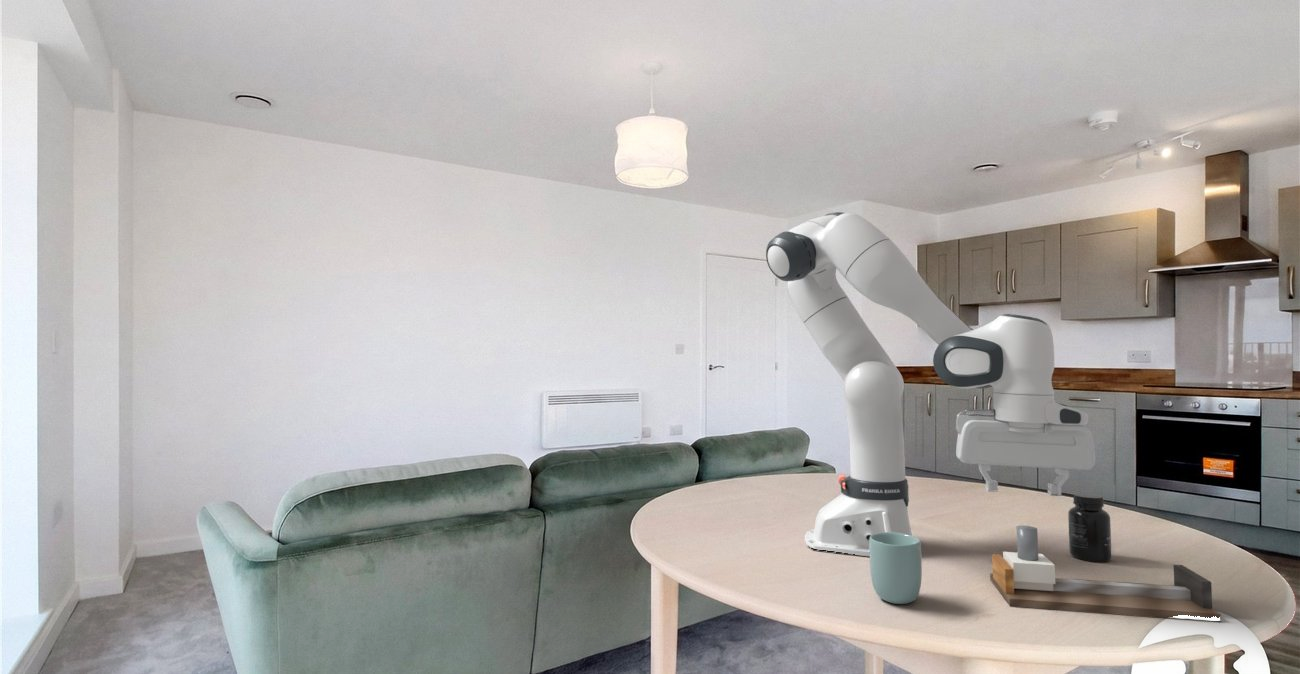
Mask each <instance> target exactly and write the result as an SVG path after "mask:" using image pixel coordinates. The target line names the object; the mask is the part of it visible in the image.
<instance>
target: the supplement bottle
mask: <svg viewBox="0 0 1300 674" xmlns="http://www.w3.org/2000/svg"><path fill="white" fill-rule="evenodd" d="M1072 503H1073V505H1074V506H1073V507H1070V509H1069V510H1068V512H1067V513H1068V514H1067V515H1068V516H1067V520H1068V544H1069V545H1068V548H1069V554H1070V555H1071V557H1073V558H1076V559H1077V560H1083V561H1088V562H1094V563H1095V562H1096V563H1106V562H1109V561H1111V559H1112V558H1113V557H1112V553H1113V552H1112V534H1111V533H1112V532H1111V531H1112V530H1111V525H1112V524H1111V516H1110V514H1109V513H1108V512H1107V511H1106V510H1104V509H1103V508H1104V506H1105V504H1104V496H1101V495H1098V494H1092V493H1075V494H1074V493H1073V501H1072Z"/></svg>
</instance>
